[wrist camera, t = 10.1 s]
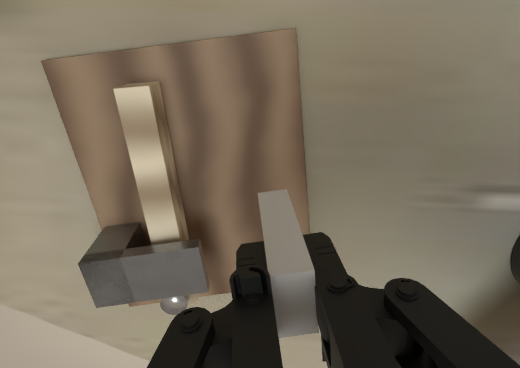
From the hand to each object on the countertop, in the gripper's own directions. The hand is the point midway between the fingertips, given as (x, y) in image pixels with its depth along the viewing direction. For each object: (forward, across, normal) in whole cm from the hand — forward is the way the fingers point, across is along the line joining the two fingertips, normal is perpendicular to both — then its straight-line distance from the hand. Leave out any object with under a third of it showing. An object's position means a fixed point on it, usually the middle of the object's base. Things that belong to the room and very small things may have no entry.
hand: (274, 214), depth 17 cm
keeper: (+19, +13, +12) cm, 26 cm away
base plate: (+20, +7, +6) cm, 22 cm away
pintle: (+14, +11, +16) cm, 24 cm away
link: (+18, +11, +6) cm, 22 cm away
